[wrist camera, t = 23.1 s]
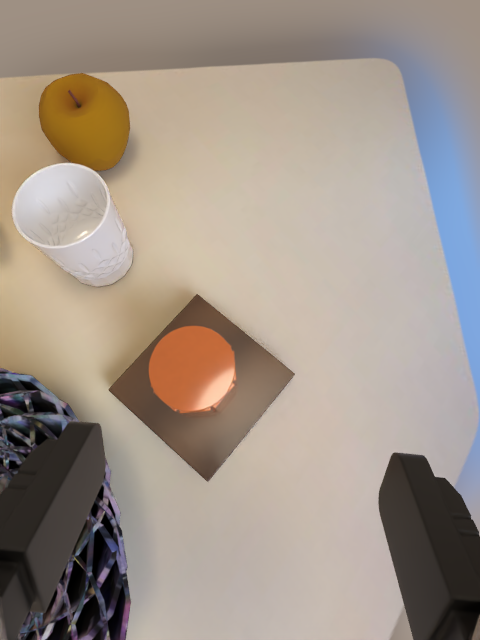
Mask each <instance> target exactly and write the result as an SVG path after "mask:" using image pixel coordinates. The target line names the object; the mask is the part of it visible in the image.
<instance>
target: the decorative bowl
mask: <svg viewBox="0 0 480 640" xmlns="http://www.w3.org/2000/svg"><path fill="white" fill-rule="evenodd" d="M70 421H77V422H79V420H78V419H77V417H76V416H75V414H74V413H73V411H72V410H71V408H70V406H69V405H68V404H67V403H65V402H63V401H61V400H59V399H58V397H57V396H55V395H54V394H53V393H52V392H51V391H49V390H48V389H47V388H46V387H45V386H43V385H42V384H41V383H40V382H39V381H37V380H36V379H35V378H34V377H33V376H31V375H24V374H17V373H12V372H11V371H8V370H5V369H2V368H0V495H1V494H2V493H3V491H4V490H5V488H7V487H8V484H9V482H10V481H11V479H12V478H13V477H14V475H15V474H16V473H18V469H19V468H20V466H21V465H22V463H23V462H24V460H25V459H26V458H27V456H28V455H29V453H30V452H31V451H33V450H34V449H35V448H36V447H38V446H39V445H40V444H41V443H43V442H44V441H45V440H46V439H56V440H58V438H59V436H60V435H61V433H62V432H63V430H64V428H65V427H66V425H67V424H68V423H69V422H70ZM105 460H106V458H105ZM110 475H111V471H110V468H109V466H108V463H107V461H106V468H105V475H104V479H103V482H102V485H101V488H100V490H99V492H98V494H97V497H96V499H95V501H94V504H93V506H92V508H91V510H90V513H89V515H88V517H87V519H86V522H85V524H84V526H83V529H82V531H81V533H80V535H79V538H78V540H77V542H76V544H75V547H74V549H73V551H72V554H71V556H70V558H69V560H68V563H67V565H66V567H65V569H64V572H63V574H62V576H61V579H60V581H59V583H58V585H57V588H56V590H55V592H54V594H53V597H52V599H51V601H50V604H49V606H48V608H47V610H46V613H39V612H30V611H29V613H28V615H27V617H26V619H25V621H24V623H23V625H22V627H21V630H20V634H21V640H126V632H127V625H128V618H129V611H130V604H131V600H130V594H129V587H128V580H127V574H126V570H127V561H126V555H125V549H124V542H123V536H122V530H121V528H120V527H119V525H120V514H121V513H120V510H119V508H118V505H117V503H116V500H115V498H114V496H113V493H112V491H111V488H110Z"/></svg>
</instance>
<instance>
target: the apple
mask: <svg viewBox="0 0 480 640" xmlns="http://www.w3.org/2000/svg"><path fill="white" fill-rule="evenodd" d="M39 118H40V123H41V127H42V130H43V132H44V133H45V135H46V137H47V138H48V140H49V141H50V143H51V144H52V145H53V147H54V148H55V149H56V150H57V152H58V153H60V154H61V155H62V156H63V157H65V158H66V159H68V160H69V161H70V162H72V163H75V164H80V165H83V166H86V167H88V168H90V169H92V170H95V171H101V170H107V169H110V168H112V167H114V166H115V165H116V164H117V163H118V162H119V161H120V159H121V157H122V155H123V153H124V151H125V148H126V146H127V142H128V136H129V131H130V121H129V111H128V108H127V105H126V103H125V101H124V100H123V98H122V96H121V95H120V94H119V93H118V92H117V91H116V90H115V89H114V88H113V87H112V86H110V85H109V84H108V83H107V82H104V81H102V80H100V79H97V78H94V77H92V76H89V75H86V74H84V73H80V74H71V75H68V76H65V77H62V78H60V79H57V80H55V81H53V82H52V83H51V84H50V85H48V86H47V87H46V88H45V90H44V91H43V93H42V95H41V99H40V104H39Z"/></svg>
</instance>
